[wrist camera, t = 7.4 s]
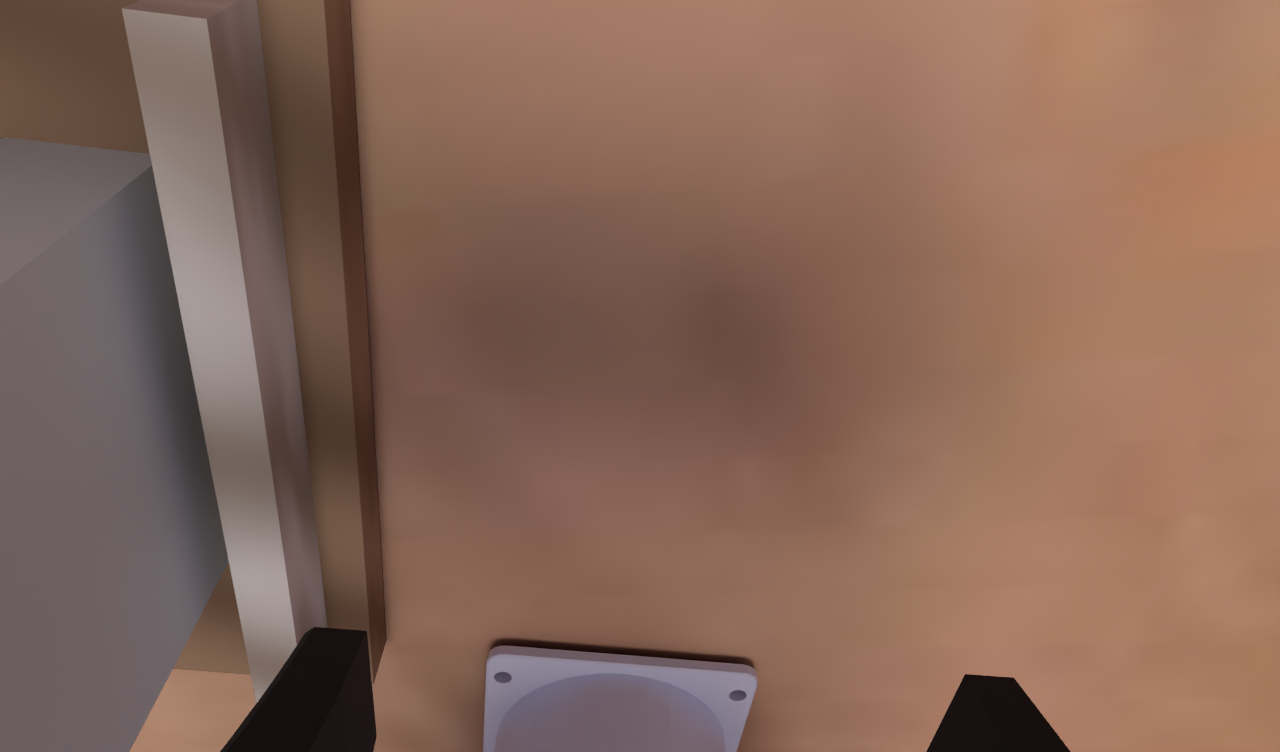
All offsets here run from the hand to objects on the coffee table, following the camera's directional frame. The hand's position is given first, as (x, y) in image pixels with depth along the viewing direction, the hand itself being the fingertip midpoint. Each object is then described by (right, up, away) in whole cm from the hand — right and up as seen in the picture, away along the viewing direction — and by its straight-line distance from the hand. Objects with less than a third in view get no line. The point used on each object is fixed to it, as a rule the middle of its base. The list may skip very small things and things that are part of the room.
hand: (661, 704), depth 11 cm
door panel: (-11, +4, +8) cm, 14 cm away
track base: (-11, +4, +10) cm, 15 cm away
